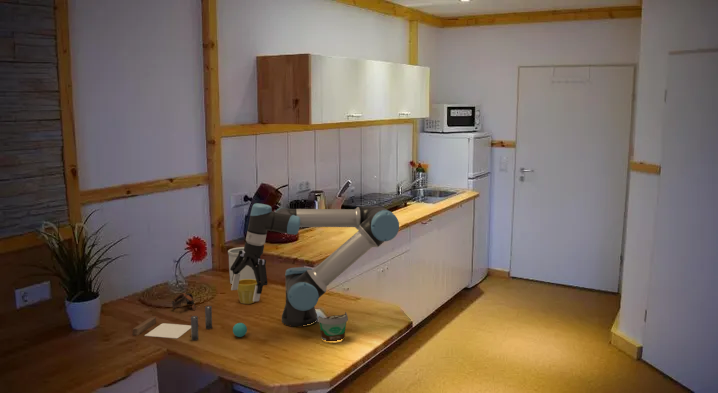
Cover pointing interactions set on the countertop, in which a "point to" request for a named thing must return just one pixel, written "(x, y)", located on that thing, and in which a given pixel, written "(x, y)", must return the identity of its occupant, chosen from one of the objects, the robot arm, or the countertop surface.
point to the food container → (333, 327)
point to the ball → (239, 329)
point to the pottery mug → (183, 300)
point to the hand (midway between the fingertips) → (244, 295)
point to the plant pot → (246, 290)
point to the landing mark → (169, 330)
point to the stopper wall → (144, 326)
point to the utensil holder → (246, 271)
